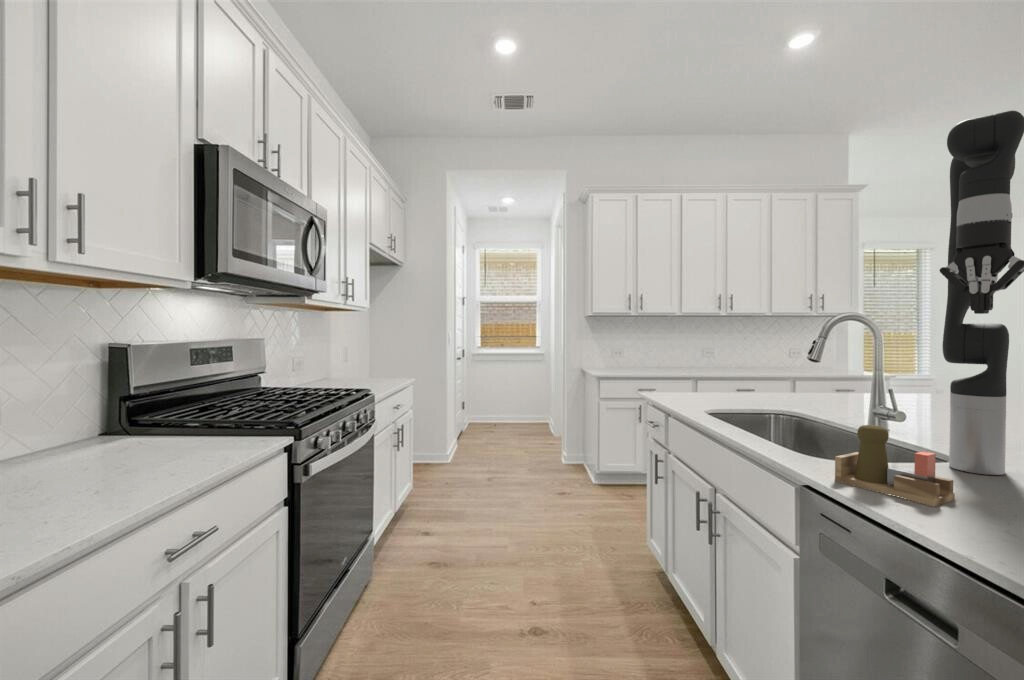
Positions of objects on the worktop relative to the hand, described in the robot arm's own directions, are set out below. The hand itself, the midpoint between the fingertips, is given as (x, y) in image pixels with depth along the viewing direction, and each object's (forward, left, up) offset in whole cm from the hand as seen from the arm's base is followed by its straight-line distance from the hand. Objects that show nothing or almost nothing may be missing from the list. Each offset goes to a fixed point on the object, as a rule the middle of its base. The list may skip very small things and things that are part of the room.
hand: (981, 313), depth 93 cm
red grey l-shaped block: (+11, -6, -34) cm, 36 cm away
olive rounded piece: (+11, -13, -34) cm, 38 cm away
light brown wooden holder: (+11, -9, -35) cm, 38 cm away
